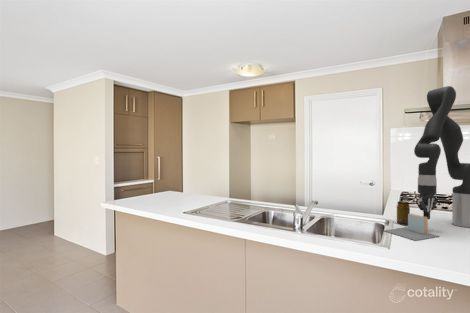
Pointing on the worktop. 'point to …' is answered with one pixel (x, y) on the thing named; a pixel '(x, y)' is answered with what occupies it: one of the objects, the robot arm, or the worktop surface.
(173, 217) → the worktop surface
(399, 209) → the condiment
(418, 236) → the mat
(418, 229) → the tile
